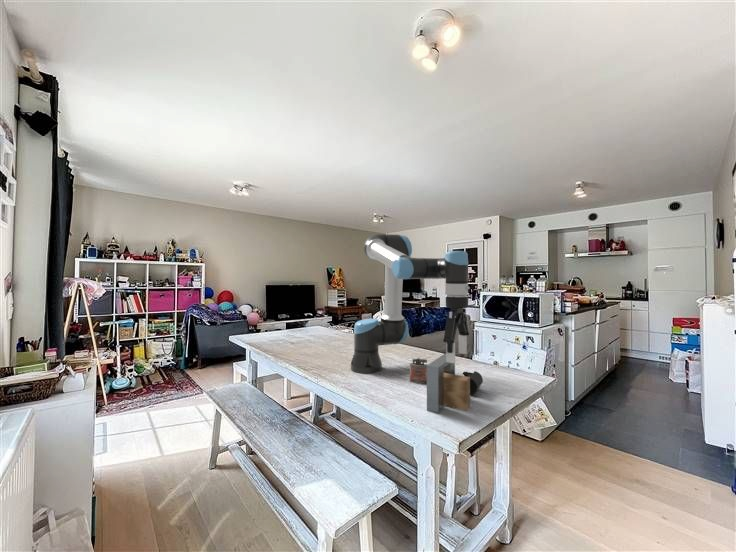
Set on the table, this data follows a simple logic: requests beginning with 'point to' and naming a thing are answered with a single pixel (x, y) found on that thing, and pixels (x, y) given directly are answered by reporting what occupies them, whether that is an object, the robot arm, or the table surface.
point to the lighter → (418, 371)
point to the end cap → (474, 381)
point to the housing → (437, 382)
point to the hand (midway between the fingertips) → (457, 357)
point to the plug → (456, 391)
